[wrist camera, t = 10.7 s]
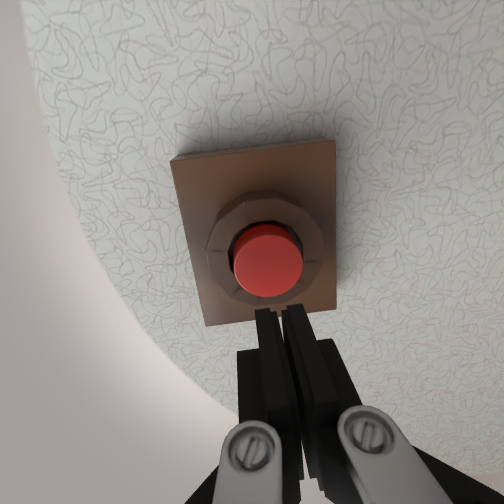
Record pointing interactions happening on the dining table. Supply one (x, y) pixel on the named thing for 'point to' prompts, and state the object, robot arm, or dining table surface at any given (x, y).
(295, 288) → the button block
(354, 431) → the robot arm
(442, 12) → the dining table surface
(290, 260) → the button
